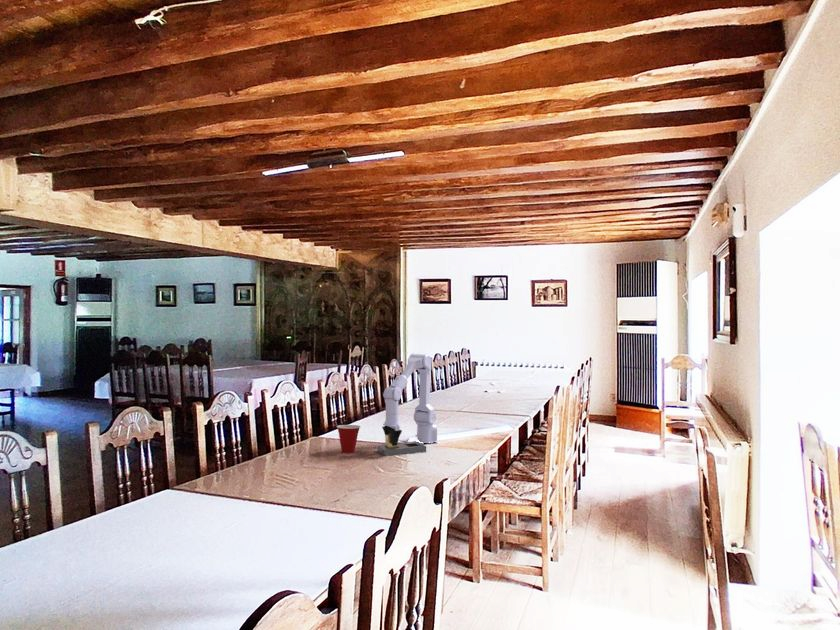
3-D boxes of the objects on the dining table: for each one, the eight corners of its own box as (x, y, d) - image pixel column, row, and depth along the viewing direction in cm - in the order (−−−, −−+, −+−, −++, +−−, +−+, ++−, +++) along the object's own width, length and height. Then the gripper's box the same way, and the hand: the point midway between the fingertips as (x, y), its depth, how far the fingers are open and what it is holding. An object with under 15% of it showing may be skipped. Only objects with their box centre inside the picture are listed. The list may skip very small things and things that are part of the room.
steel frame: (417, 447, 256) (417, 441, 256) (426, 451, 247) (426, 446, 247) (377, 450, 248) (377, 445, 248) (384, 455, 239) (384, 450, 239)
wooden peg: (393, 451, 248) (393, 433, 248) (396, 453, 244) (396, 435, 244) (385, 451, 246) (385, 434, 247) (388, 453, 243) (388, 436, 243)
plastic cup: (362, 449, 251) (362, 423, 251) (357, 455, 240) (357, 428, 240) (339, 448, 252) (339, 422, 252) (333, 454, 241) (333, 427, 241)
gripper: (378, 411, 251) (378, 441, 251) (389, 416, 237) (388, 447, 237) (392, 410, 254) (392, 439, 253) (404, 415, 240) (403, 446, 240)
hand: (391, 443), depth 246 cm, fingers open, 7 cm apart
